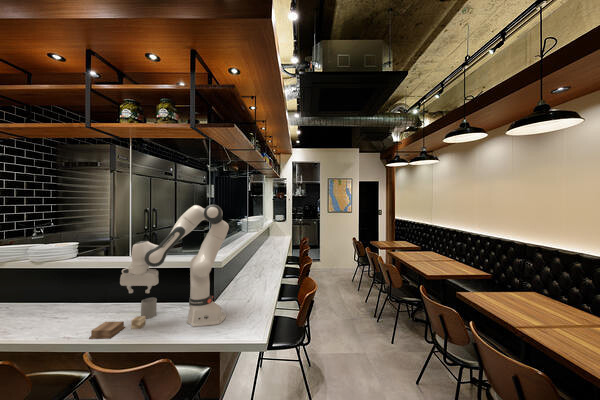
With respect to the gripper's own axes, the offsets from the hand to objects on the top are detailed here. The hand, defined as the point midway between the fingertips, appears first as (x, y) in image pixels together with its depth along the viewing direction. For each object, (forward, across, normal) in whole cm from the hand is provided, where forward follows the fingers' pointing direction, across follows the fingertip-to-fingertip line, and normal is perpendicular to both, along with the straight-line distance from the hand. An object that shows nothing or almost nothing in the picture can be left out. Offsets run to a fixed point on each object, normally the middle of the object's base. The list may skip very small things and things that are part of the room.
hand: (139, 293), depth 141 cm
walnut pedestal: (+19, +12, +7) cm, 24 cm away
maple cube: (+19, 0, 0) cm, 19 cm away
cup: (+20, +2, -14) cm, 24 cm away
